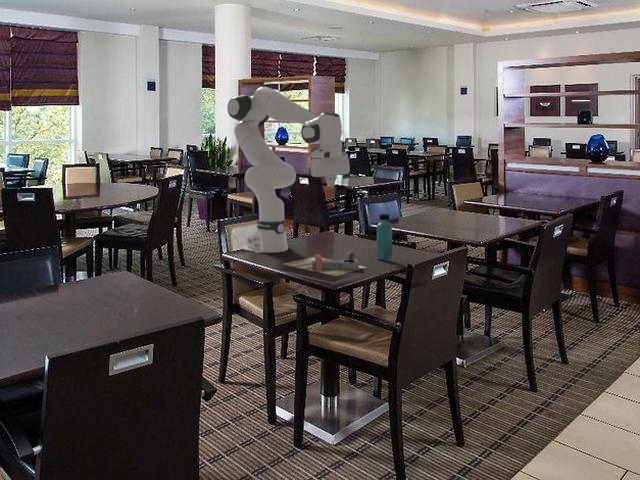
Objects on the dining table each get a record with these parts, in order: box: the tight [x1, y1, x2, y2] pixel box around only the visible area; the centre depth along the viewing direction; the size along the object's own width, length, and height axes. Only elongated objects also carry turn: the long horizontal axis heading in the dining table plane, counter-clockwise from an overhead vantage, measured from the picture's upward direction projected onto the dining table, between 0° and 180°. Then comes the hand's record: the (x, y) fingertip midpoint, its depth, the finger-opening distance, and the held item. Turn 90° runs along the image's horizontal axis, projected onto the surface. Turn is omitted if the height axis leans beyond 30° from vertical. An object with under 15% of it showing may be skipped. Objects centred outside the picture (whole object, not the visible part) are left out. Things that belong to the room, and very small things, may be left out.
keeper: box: [313, 253, 323, 271], centre depth 254 cm, size 7×2×5 cm, turn 7°
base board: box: [283, 256, 368, 277], centre depth 260 cm, size 29×19×1 cm, turn 47°
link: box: [312, 258, 360, 272], centre depth 255 cm, size 18×7×3 cm, turn 92°
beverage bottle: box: [375, 213, 393, 261], centre depth 269 cm, size 6×7×20 cm
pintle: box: [348, 252, 355, 262], centre depth 255 cm, size 2×2×6 cm
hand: (330, 186), depth 268 cm, fingers closed
